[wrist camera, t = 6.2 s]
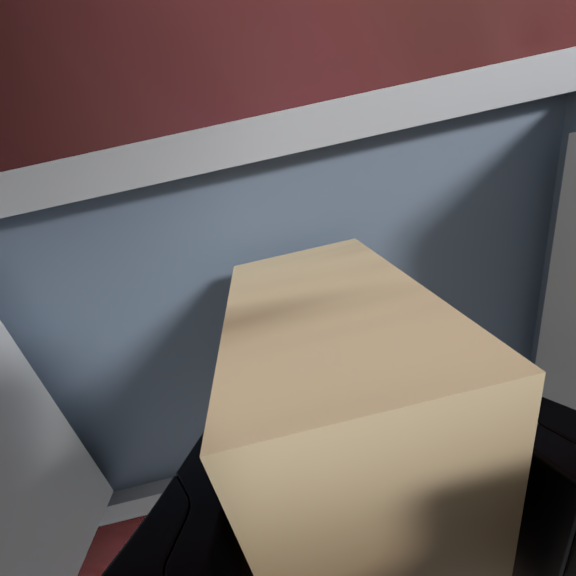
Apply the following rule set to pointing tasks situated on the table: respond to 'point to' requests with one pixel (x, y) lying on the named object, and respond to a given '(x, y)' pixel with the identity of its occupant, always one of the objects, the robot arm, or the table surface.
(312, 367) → the block
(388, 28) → the table surface
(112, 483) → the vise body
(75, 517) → the block
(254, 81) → the table surface
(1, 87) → the table surface
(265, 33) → the table surface
